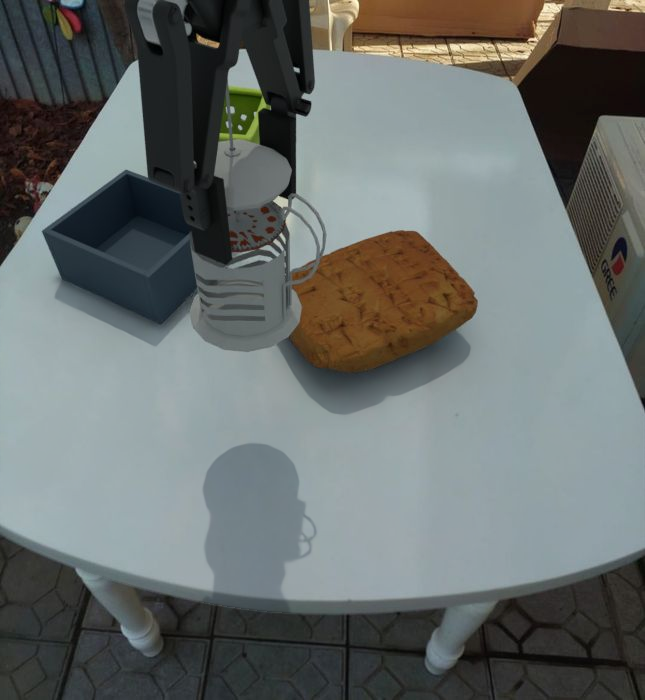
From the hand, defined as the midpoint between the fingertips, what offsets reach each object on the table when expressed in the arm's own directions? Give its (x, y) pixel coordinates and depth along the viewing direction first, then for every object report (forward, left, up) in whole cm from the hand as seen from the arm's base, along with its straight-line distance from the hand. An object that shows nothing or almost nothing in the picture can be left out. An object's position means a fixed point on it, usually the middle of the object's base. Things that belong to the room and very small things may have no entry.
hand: (248, 222), depth 44 cm
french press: (0, 0, -10) cm, 10 cm away
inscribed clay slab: (+4, +19, -27) cm, 33 cm away
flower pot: (-29, +35, -27) cm, 53 cm away
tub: (-27, +14, -27) cm, 41 cm away
